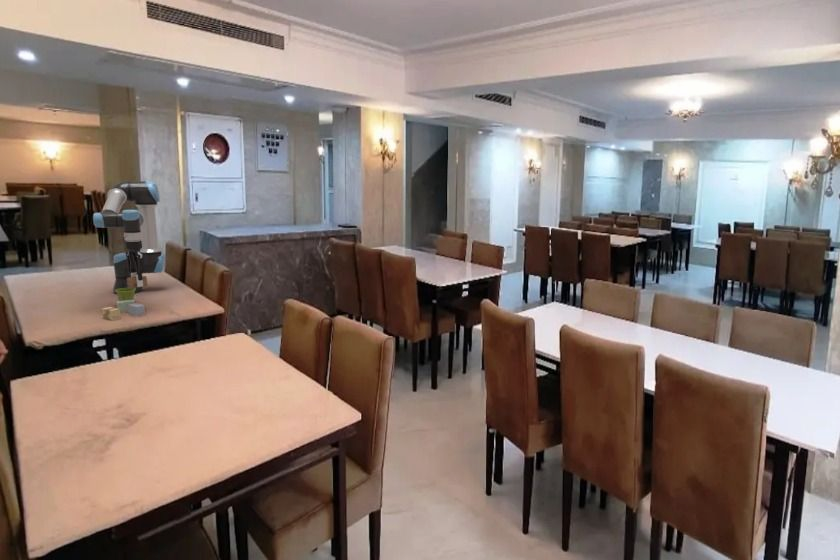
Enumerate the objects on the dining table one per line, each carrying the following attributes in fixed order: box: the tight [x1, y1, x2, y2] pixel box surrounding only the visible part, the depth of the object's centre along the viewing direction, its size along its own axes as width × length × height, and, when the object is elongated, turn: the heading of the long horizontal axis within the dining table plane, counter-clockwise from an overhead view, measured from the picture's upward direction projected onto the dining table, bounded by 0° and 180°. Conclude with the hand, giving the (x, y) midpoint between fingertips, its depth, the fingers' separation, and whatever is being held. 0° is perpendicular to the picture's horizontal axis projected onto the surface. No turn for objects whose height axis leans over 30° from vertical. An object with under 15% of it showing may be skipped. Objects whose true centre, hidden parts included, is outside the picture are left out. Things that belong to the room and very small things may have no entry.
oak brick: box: [101, 306, 122, 321], centre depth 248 cm, size 8×4×5 cm, turn 62°
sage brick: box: [115, 299, 136, 313], centre depth 262 cm, size 8×4×5 cm, turn 124°
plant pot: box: [115, 288, 136, 301], centre depth 271 cm, size 9×9×9 cm
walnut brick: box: [127, 275, 148, 289], centre depth 260 cm, size 8×4×5 cm, turn 152°
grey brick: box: [127, 302, 146, 317], centre depth 256 cm, size 8×4×5 cm, turn 56°
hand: (137, 285), depth 261 cm, fingers closed on walnut brick, 4 cm apart
